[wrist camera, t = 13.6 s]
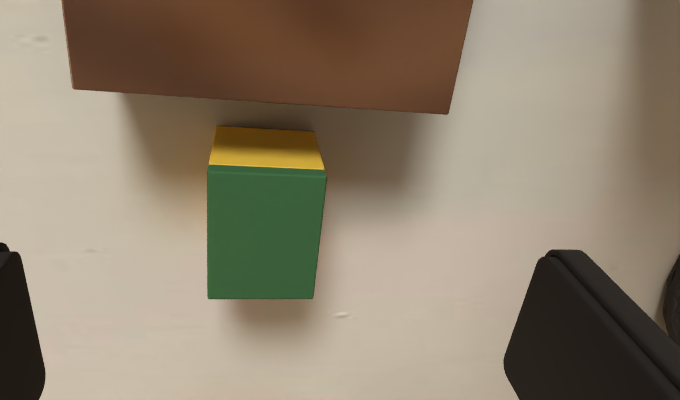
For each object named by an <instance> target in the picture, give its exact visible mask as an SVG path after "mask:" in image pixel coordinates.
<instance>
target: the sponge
mask: <svg viewBox="0 0 680 400" xmlns="http://www.w3.org/2000/svg"><path fill="white" fill-rule="evenodd" d="M326 182H327V176H326V173H325V168H324V165H323V162H322V158H321V155H320V152H319V148H318V145H317V142H316V138H315V135H314V132H310V131H293V130H276V129H259V128H242V127H225V126H216V128H215V133H214V139H213V144H212V149H211V154H210V160H209V166H208V171H207V287H208V299H313V296H314V287H315V278H316V270H317V261H318V252H319V243H320V235H321V226H322V217H323V208H324V200H325V191H326Z"/></svg>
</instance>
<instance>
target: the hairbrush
mask: <svg viewBox="0 0 680 400" xmlns="http://www.w3.org/2000/svg"><path fill="white" fill-rule="evenodd" d="M663 315H664V319H665V323H666V327H667V331H668V335H669V337H670V338H671V339H672V340H673V341H674V342H675V343H676V344H677V345H678V346H679V347H680V256H679V258H678V260H677V262H676V264H675V266H674V268H673V270H672V272H671V274H670V276H669V278H668V281H667V287H666V294H665V301H664V308H663Z"/></svg>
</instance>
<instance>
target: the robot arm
mask: <svg viewBox="0 0 680 400" xmlns="http://www.w3.org/2000/svg"><path fill="white" fill-rule="evenodd" d="M504 370H505V374H506V376H507V378H508V380H509V381H510V383H511V385H512V387H513V389H514V390H515V392H516V394H517V396H518V398H519V399H520V400H680V347H679V346H678V345H677V344H676V343H675V342H674V341H673V340H672V339H671V338H670V337H669V336H668V335H667V334H666V333H665V332H664V331H663V330H662V329H661V328H660V327H659V326H658V325H657V324H656V323H655V322H654V321H653V320H652V319H651V318H650V317H649V316H648V315H647V314H646V313H645V312H644V311H643V310H642V309H641V308H640V307H639V306H638V305H637V304H636V303H635V302H634V301H633V300H632V299H631V298H630V297H629V296H628V295H627V294H626V293H625V292H624V291H623V290H622V289H621V288H620V287H619V286H618V285H617V284H616V283H615V282H614V281H613V280H612V279H611V278H610V277H609V276H608V275H607V274H606V273H605V272H604V271H603V270H602V269H601V268H600V267H599V266H598V265H597V264H596V263H595V262H594V261H593V260H592V259H591V258H590V257H589V256H588V255H587V254H586V253H584V252H583V251H581V250H550V251H549V252H548V253H547V254H546V255H545V257H541V258H540V259H539V260H538V262H537V264H536V267H535V270H534V273H533V276H532V279H531V282H530V284H529V287H528V290H527V293H526V296H525V299H524V302H523V304H522V307H521V310H520V313H519V316H518V319H517V322H516V324H515V327H514V330H513V333H512V336H511V339H510V342H509V344H508V347H507V350H506V353H505V356H504ZM44 384H45V367H44V362H43V358H42V353H41V348H40V344H39V339H38V334H37V329H36V325H35V320H34V315H33V311H32V306H31V301H30V297H29V292H28V287H27V283H26V278H25V273H24V269H23V264H22V260H21V256H20V255H19V253H18V252H10V251H9V248H8V247H7V245H6V244H4V243H0V400H39V398H40V396H41V394H42V391H43V388H44Z"/></svg>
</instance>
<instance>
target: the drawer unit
mask: <svg viewBox="0 0 680 400" xmlns="http://www.w3.org/2000/svg"><path fill="white" fill-rule="evenodd" d="M61 1H62V9H63V17H64V25H65V33H66V41H67V49H68V57H69V65H70V73H71V81H72V88H73V89H76V90H91V91H106V92H120V93H135V94H150V95H165V96H179V97H194V98H209V99H223V100H238V101H253V102H268V103H282V104H297V105H312V106H327V107H341V108H356V109H371V110H385V111H400V112H415V113H430V114H444V115H447V114H448V113H449V109H450V104H451V100H452V95H453V90H454V86H455V81H456V77H457V72H458V68H459V63H460V59H461V54H462V49H463V45H464V40H465V36H466V31H467V27H468V22H469V18H470V13H471V8H472V4H473V0H61Z"/></svg>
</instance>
